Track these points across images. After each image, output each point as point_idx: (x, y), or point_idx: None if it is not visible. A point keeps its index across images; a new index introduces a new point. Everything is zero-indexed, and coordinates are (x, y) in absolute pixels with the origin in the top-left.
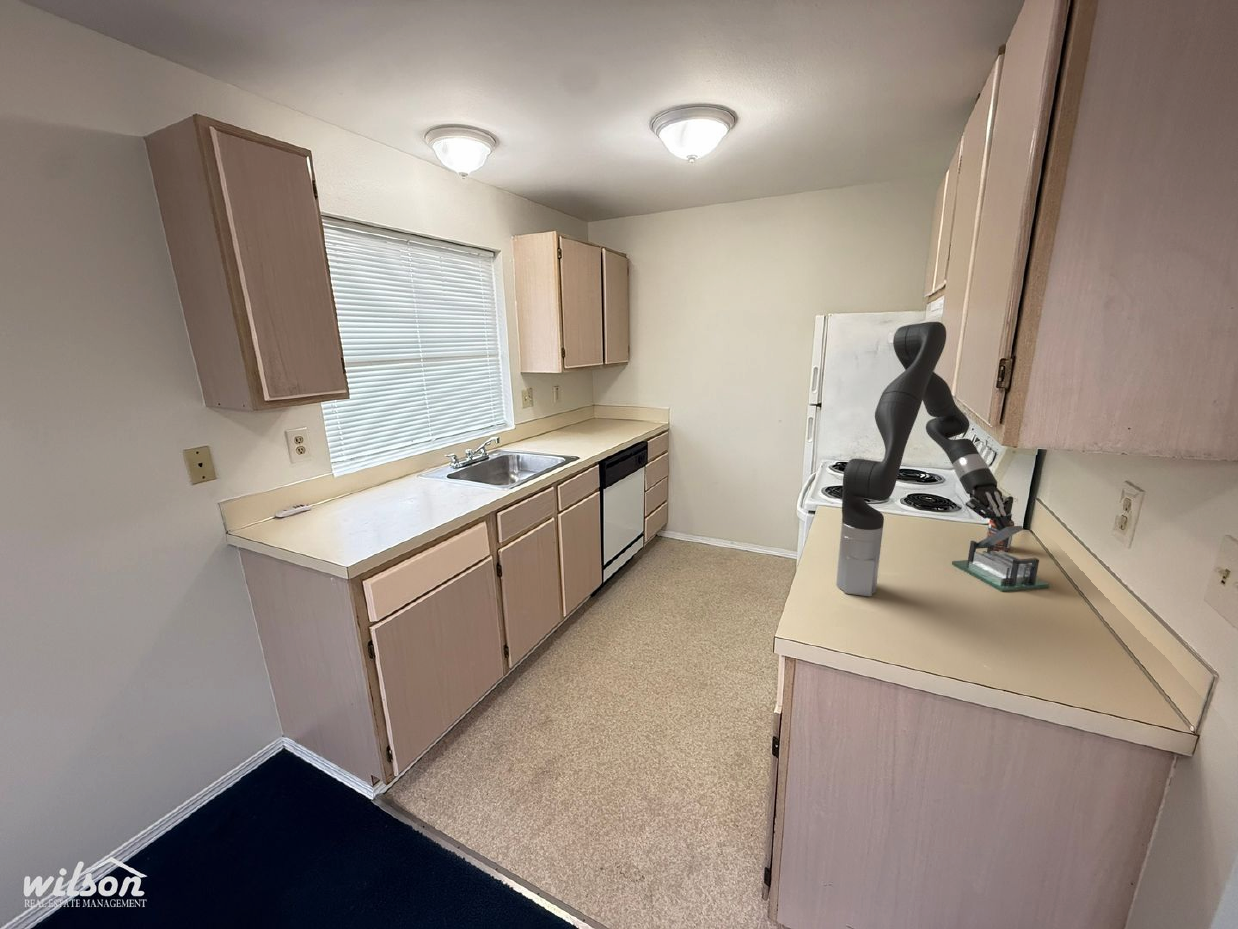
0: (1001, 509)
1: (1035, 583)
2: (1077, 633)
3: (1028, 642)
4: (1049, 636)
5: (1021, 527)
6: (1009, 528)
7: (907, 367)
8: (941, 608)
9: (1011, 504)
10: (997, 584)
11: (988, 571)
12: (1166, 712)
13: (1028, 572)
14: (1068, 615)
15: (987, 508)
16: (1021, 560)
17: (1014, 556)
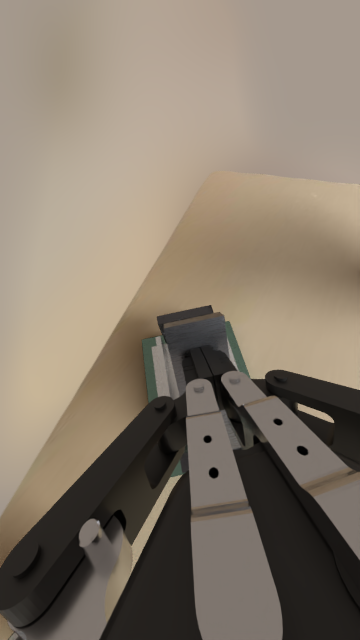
0: (203, 408)
1: (162, 340)
2: (198, 242)
3: (259, 225)
4: (231, 235)
5: (167, 326)
6: (216, 315)
7: None
8: (337, 272)
9: (98, 465)
10: (230, 332)
11: (234, 359)
12: (211, 177)
13: (164, 349)
14: (179, 272)
15: (308, 395)
16: (197, 310)
17: (164, 386)
